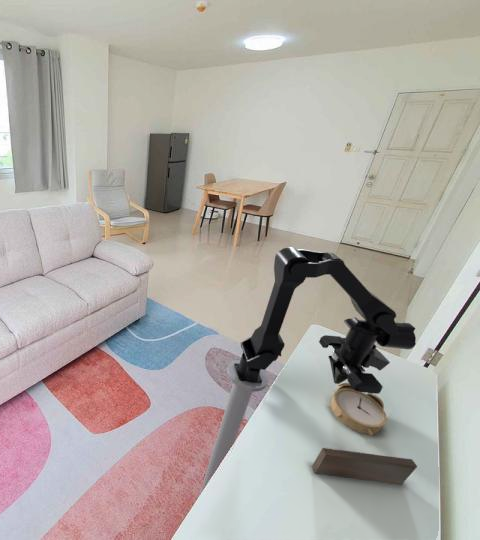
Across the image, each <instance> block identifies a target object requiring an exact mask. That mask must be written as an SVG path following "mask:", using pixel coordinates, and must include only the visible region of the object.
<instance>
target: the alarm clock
mask: <svg viewBox="0 0 480 540" xmlns="http://www.w3.org/2000/svg"><path fill="white" fill-rule="evenodd" d="M329 405H330V408H331V409H330V410H331V411H332V413H333V414H334V416H335V417H336V418H337V420H339V421H340V422H341V423H342V424H344V426H346V427H348V428H350V429H351V430H352V431H355V432H358V433H361V434H365V435H370V436H373V435H374V434H377V433H379V432H380V431H381V429H382V428H383V427H384V426H385V425H386V422H387V419H388V418H387V414H386V411H385V410H384V408H385V404H384V401H383V400H382V399H381V398H380V397H379V396H378V395H377V394H375V393H365V392H357V391H356V390H354V389H353V388H352V386H351V385H350V384H349V382H342V383H340V384H338V386H337V389H336V390H335V392H334V394H333V396H332V398H331V399H330V404H329Z"/></svg>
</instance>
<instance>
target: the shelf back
mask: <svg viewBox="0 0 480 540" xmlns="http://www.w3.org/2000/svg"><path fill="white" fill-rule="evenodd" d="M311 468H312V470H313V472H314V474H318V475H326V476H331V477H332V476H334V477H341V478H347V479H348V478H349V479H354V480H355V479H356V480H363V481H369V482H379V483H385V484H393V485H400V486H401V485H403V484H404V483H405V482H406V481H407V480H408V478H409V477H410V476H411V475H412V473H414V471H415V470H416V469H417V468H418V465H417V464H416V463H415V461H414V460H413V459H412V458H407V457H406V458H405V457H397V456H389V455H383V454H382V455H381V454H374V453H365V452H357V451H350V450H342V449H333V448H328V447H327V448H326V447H322V448H321V450H320V451H319V453H318V454H317V457H316V459H315V460H314V462H313V463H312V465H311Z"/></svg>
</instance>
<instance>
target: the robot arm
mask: <svg viewBox="0 0 480 540" xmlns="http://www.w3.org/2000/svg"><path fill="white" fill-rule="evenodd" d="M273 273H274V274H273V275H274V283H273V287H272V288H271V289H272V290H271V293H270V294H269V295H270V296H269V298H268V302H267V305H266V309H265V311H264V315H263V319H262V322H261V324H260V325H259V326H258V327H257V328H255V329H254V331H253V333H252V335H251V336H250V337H249V336H248V337H247V338H245V339H244V340H241V341H240V348H241V349H242V350H241V351H242V354H241V357H240V359H239V360H240V363H239V364H238V363H235V364H234V366H235V369H236V372H237V376H238V379H239V380H240V381H247V382H256V383H262V379H261V377H260V374H259V373H260V370H261V369H262V370H263V371H265V370H266V369H268V368H269V366H270V365H271V364H272V363H273V362H276V361H277V360H278V358H279V357H282V351H283V350H284V348H285V342H284V340H283V337H282V336H281V334H280V332H281V329H282V326H283V324H284V320H285V318H286V315H287V312H288V310H289V307H290V305H291V301H292V298H293V296H294V292H295V290H296V289H297V288H298V287H300V285H302V284H304V282H305V281H306V279H307V278H312V279H313V278H314V279H315V278H319V277H323V276H326V275H328V276H330V277H331V278H332V279H333V280H334V281H335V282H336V284H338V285H339V287H340V288H341V289H342V290H343V291H344V292H345V293H346V294H347V295H348V296H349V299H350V303H351V304H352V306H353V308H354V311H356V312H357V313H358V314H359V315H360V317H361V318H363V319H358V318H357V317H356V316H354V317H352V318H351V317H350V318H346V319H344V320H343V322H344V324H346V326H347V327H348V328H349V330H348V332H347V334H346V336H345V337H342V336H338V335H327V334H324V335H322V336H320V338H319V340H318V343H319V344H320V346H321V347H322V348H323V349H328V348H329V346H331V348H333V351H332V354H331V355H328V360H329V363H330V368H331V369H330V370H331V373H332V374H331V375H332V380H333V383H334V384H335V385H340V384H342V383H344V382H345V381H346V380H347V383H349V384H350V385H351V386H352V388H353V389H354V390H356V391H357V392H363V393H365V394H368V393H373V394H375V395H378V394H381V391H382V390H383V388H384V386H383V385H382V384H381V382H380V381H379V380H378V379H377V377H376V376H375V375H374V374H373V373H370V372H366V370H365V369H370V367H372V368H374V369H377V370H378V371H382V370H383V369H385V368H386V367H387V366H388V365H390V363H391V362H390V361H389V359H388V358H387V357H386V356H385V355H383V353H382V352H381V351H379V350H378V348H377V345H376V343H377V344H378V345H379V346H380V347H382V348H393V349H398V350H399V349H401V350H412V349H413V348H414V347H415V346H416V345H417V343H416V341H417V338H416V333H415V330H416V328H415V326H414V325H413V324H411V323H410V322H396V321H395V319H396V318H397V312H396V311H395V310H393V308H391V307H390V306H389V305H388V304H387V303H385V302H384V301H383V300H382V299H380V298H379V297H378V296H377V295H376V294H375V293H372V292H371V291H369V290H368V289H367V287H365V286H364V284H363V283H362V282H361V281H360V280H359V279H358V278H357V277H356V275H355V274H354V273H353V272H352V271H351V270H350V269H349V267H348V266H347V265H346V264H345V261H344V260H343V259H341V258H340V257H339V256H337V254H336V253H334V252H329V251H315V250H309V249H301V248H300V249H298V248H296V247H292V246H287V247H283V248H282V249H280V250H278V251H277V252H276V254H275V256H274V264H273Z"/></svg>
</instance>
